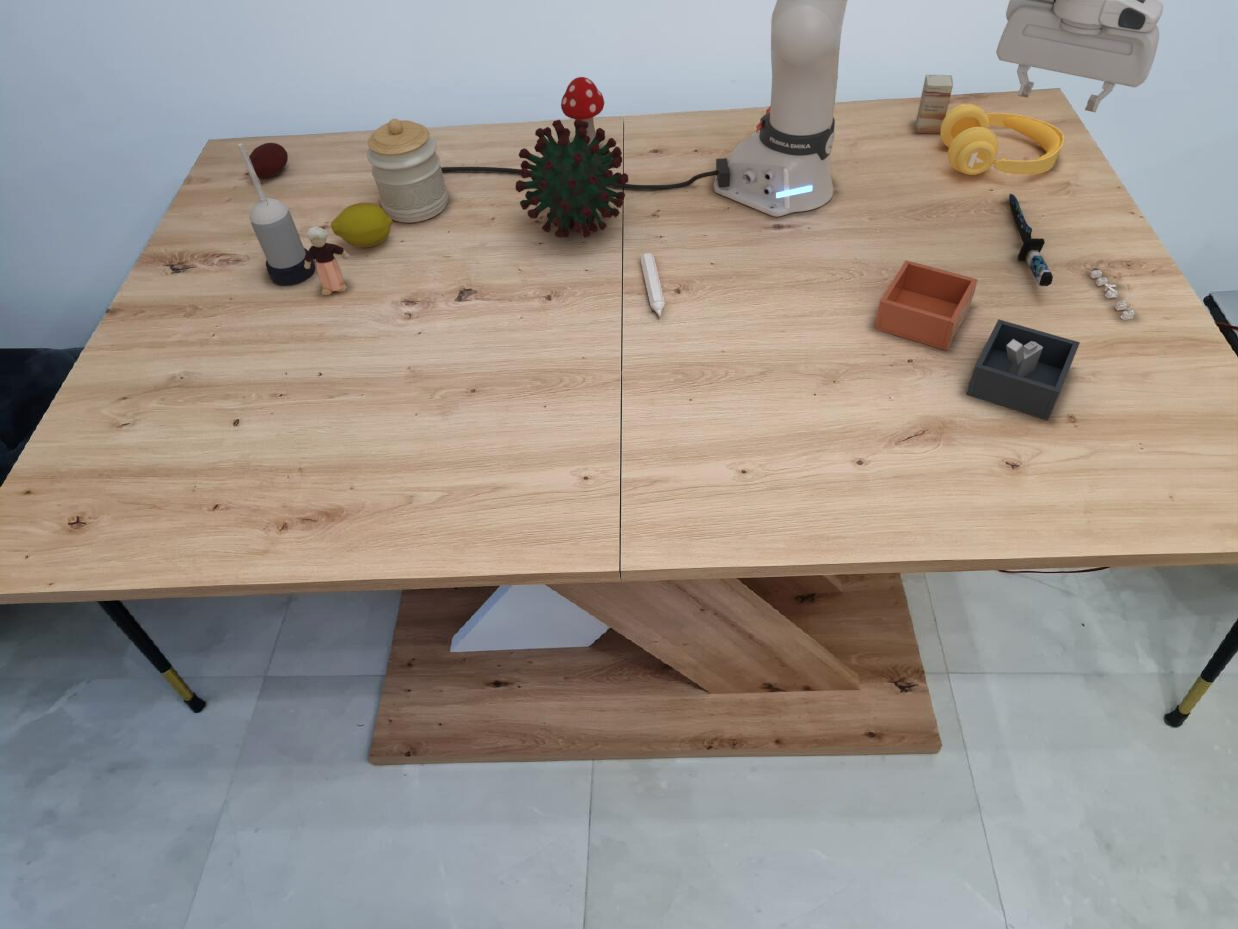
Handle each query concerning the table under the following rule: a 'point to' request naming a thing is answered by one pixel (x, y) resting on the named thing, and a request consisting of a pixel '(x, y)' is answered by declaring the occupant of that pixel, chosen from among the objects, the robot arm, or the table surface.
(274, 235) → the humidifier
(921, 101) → the beige brown box
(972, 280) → the terracotta bin
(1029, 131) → the headset
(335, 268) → the grandmother figurine
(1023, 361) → the lighter
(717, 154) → the table surface
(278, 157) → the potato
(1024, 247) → the knife
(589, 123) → the decorative mushroom
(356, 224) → the lemon
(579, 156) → the virus model
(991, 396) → the grey bin
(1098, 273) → the figurines set
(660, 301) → the marker
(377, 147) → the jar
